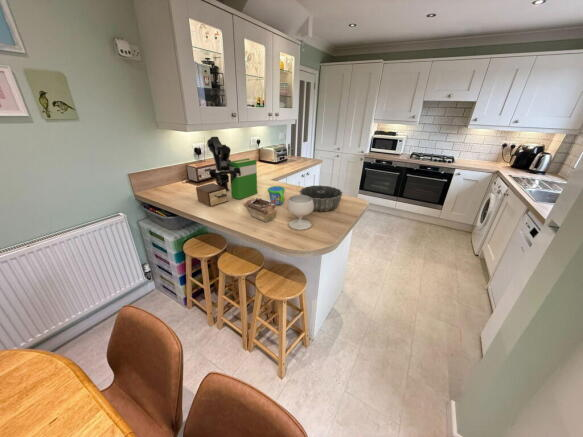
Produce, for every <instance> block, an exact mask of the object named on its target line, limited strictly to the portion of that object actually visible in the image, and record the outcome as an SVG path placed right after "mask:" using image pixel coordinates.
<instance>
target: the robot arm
mask: <svg viewBox="0 0 583 437" xmlns="http://www.w3.org/2000/svg"><path fill="white" fill-rule="evenodd" d="M206 146H207V148H208V150H209V151H210V152H211V153H212V156H213V160H214V164H215V168H213V169H212V168H211V169H209V170H208V172H209V177H210V178H211V179H213V178H214V179H215V184H217V185H220V186H222V187H225V190H226V192H228V191H230V189H229V186H228V183H230V185H231V184H232V182H233V179H234V178H235V177H236V176H237V175H236V173H239V175H238V176H241V172H240V168H234V170H231V171H230V166H231V161H232V160H231V159H230V156H231V147H229V146H228V145H226V144H222V142H221V141H220V138H219V136H211V137H210V138H209V139H207V141H206ZM230 174H231V180H230Z"/></svg>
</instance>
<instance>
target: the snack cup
mask: <svg viewBox="0 0 583 437" xmlns="http://www.w3.org/2000/svg"><path fill="white" fill-rule="evenodd" d="M285 190H286V188H285V187H284V186H280V185H273V186H270V187H268V188H267V192H268V196H269V200H270V201H271V203H272V204H275V206H281V205H282V204H283V202H285V197H284V194H285Z"/></svg>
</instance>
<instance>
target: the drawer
mask: <svg viewBox="0 0 583 437" xmlns="http://www.w3.org/2000/svg"><path fill="white" fill-rule="evenodd" d="M227 196H228V194H227V191H226V190H225V189H224V190H223V189H222V190H218V191H215V192H211V193H209V198H210V204H211V206H210V207H213V206H216V205H219V204H222V202H223V203H225V201H226V202H227V201H228V197H227Z"/></svg>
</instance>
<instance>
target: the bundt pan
mask: <svg viewBox="0 0 583 437" xmlns="http://www.w3.org/2000/svg"><path fill="white" fill-rule="evenodd" d="M343 193H344V192H343V191H342V190H341V189H340V188H336V187H334V186H330V185H320V184H319V185H308V186H305V187H302V188H300V190H299V195H306V196H309V197H311V198H312V200H313V203H314V209H313V212H314V211H316V212H317V211H319V212H322V211H323V212H328V211H333V210H335V209H336V208H338V206H339V205H340V202H341V200H342V196H343Z"/></svg>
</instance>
